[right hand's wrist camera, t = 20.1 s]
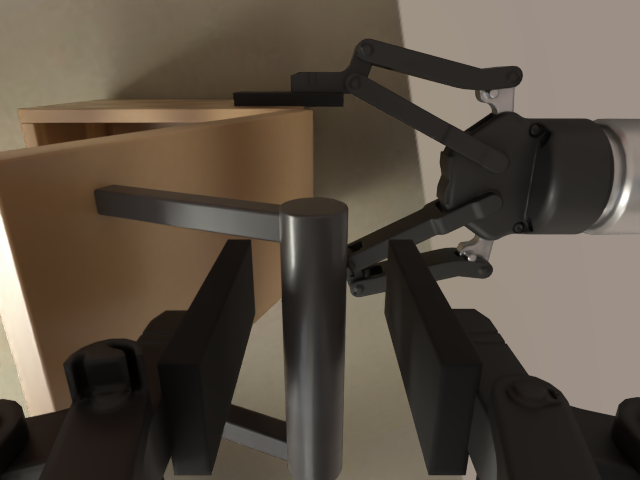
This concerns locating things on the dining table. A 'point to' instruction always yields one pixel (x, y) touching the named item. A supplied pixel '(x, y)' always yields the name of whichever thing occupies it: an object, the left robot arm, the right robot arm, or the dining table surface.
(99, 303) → the lid
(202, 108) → the chest
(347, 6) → the dining table surface
